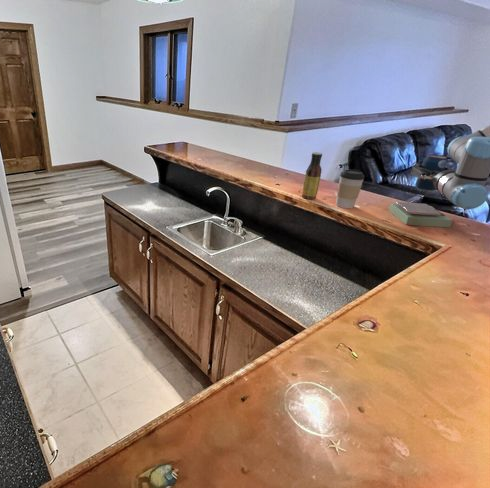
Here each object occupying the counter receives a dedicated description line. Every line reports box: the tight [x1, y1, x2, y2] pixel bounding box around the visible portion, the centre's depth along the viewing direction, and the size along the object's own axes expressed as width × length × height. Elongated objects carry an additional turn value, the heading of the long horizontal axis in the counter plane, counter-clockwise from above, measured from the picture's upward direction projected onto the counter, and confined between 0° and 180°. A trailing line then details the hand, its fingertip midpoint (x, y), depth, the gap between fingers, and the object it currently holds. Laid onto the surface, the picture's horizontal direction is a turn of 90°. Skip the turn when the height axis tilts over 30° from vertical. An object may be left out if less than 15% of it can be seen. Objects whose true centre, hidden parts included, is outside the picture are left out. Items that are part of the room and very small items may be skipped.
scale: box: [388, 203, 453, 228], centre depth 135 cm, size 15×15×3 cm
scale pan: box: [395, 201, 442, 216], centre depth 134 cm, size 11×11×1 cm
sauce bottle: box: [301, 151, 323, 200], centre depth 152 cm, size 7×6×20 cm
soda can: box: [415, 154, 448, 192], centre depth 127 cm, size 7×7×12 cm
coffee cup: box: [335, 168, 365, 209], centre depth 144 cm, size 9×9×15 cm
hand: (427, 166), depth 131 cm, fingers closed on soda can, 7 cm apart
